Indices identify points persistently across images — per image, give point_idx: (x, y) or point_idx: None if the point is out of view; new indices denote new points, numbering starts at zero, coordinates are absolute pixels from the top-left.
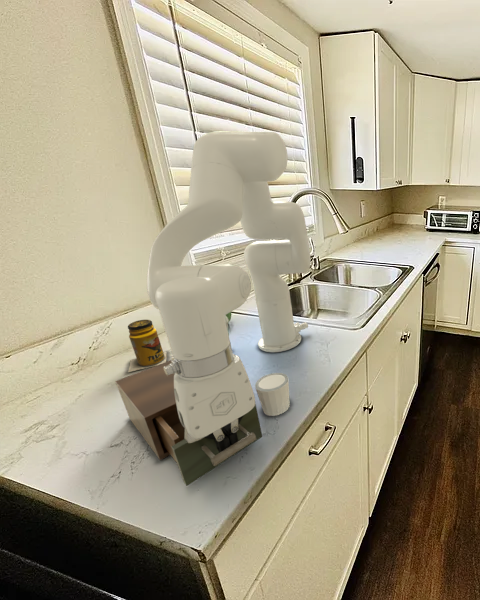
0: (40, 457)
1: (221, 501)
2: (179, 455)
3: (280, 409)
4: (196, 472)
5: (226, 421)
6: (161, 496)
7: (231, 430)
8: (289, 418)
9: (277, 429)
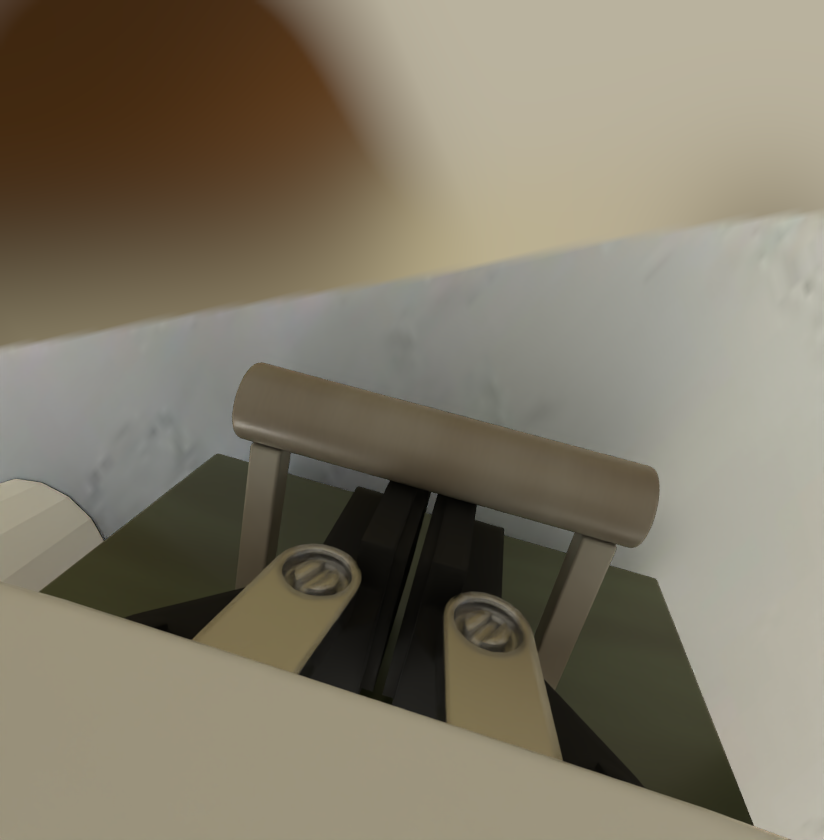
0: None
1: (645, 335)
2: (721, 793)
3: (26, 504)
4: (601, 590)
5: (375, 782)
6: (719, 645)
7: (354, 590)
8: (45, 421)
9: (136, 426)
